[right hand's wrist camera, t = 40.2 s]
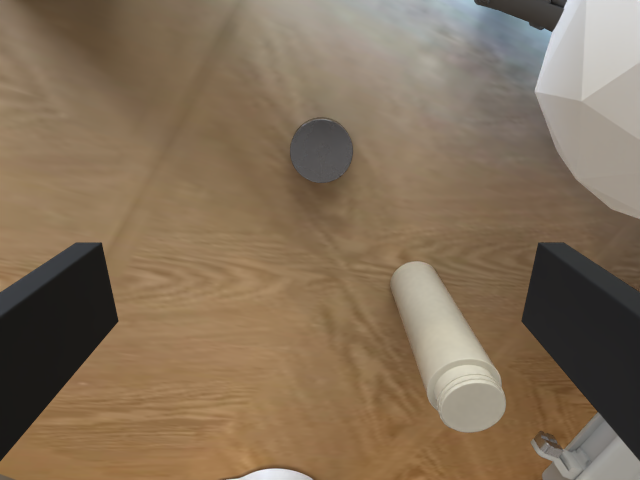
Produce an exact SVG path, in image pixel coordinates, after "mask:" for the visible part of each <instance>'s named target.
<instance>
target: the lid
mask: <svg viewBox="0 0 640 480" xmlns="http://www.w3.org/2000/svg"><path fill="white" fill-rule="evenodd" d="M290 156H291V160H292V163H293V165H294V167H295V169H296V170H297V171H298V173H299V174H300V175H302V176H303V177H304V178H306V179H308V180H310V181H313V182H317V183H326V182H330V181H333V180H335V179H337V178H339V177H340V176H341V175H343V174H344V173H345V171H346V170H347V169H348V167H349V165H350V163H351V160H352V156H353V146H352V142H351V139H350V137H349V135H348V133H347V131H346V130H345V128H344V127H343V126H342V125H341V124H339V123H338V122H336V121H334V120H332V119H329V118H323V117H320V118H314V119H311V120H308V121H307V122H305V123H304V124H302V125H301V126H300V127H299V128H298V130H297V131H296V133H295V135H294V137H293V139H292V142H291V146H290Z"/></svg>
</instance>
